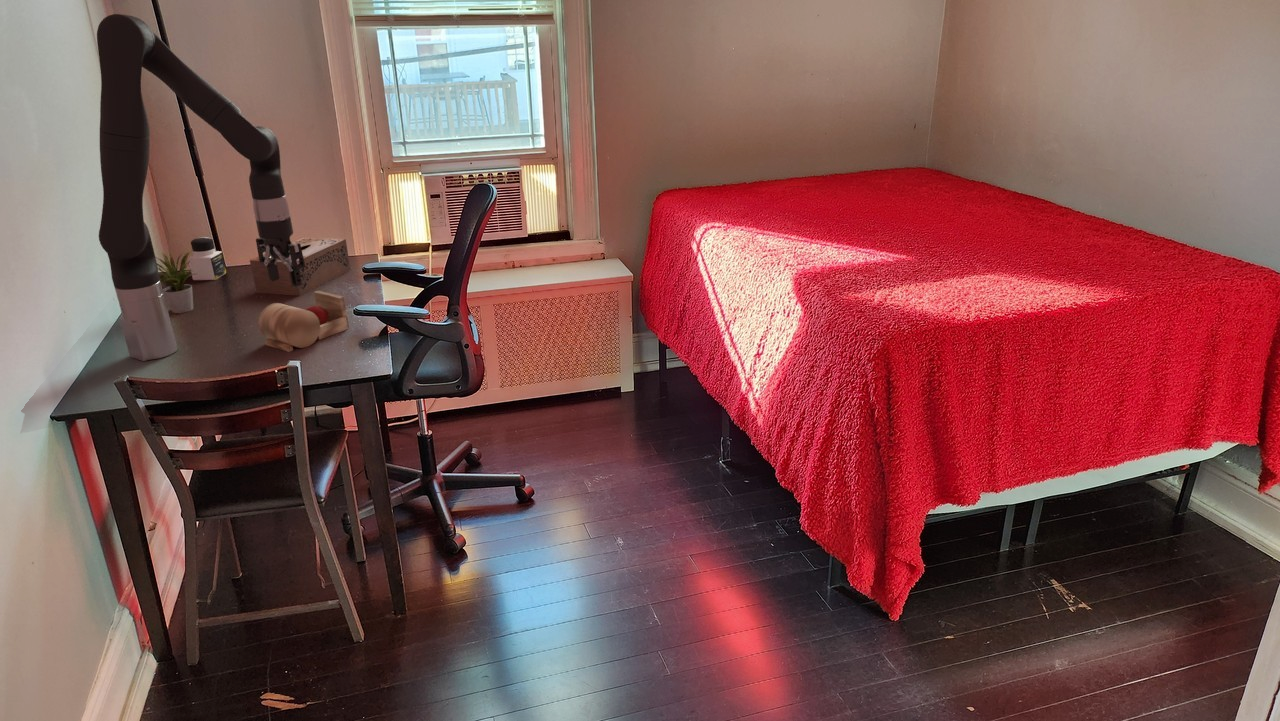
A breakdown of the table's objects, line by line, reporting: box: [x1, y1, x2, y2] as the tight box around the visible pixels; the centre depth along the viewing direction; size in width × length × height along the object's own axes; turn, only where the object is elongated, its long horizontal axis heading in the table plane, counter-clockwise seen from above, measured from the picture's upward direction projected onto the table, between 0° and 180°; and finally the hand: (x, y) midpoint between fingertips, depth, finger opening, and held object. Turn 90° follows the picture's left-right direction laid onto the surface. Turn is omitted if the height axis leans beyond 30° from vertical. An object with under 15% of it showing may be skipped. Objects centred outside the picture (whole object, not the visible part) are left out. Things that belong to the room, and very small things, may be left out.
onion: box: [304, 305, 329, 325], centre depth 209 cm, size 6×6×8 cm
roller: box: [258, 302, 320, 353], centre depth 201 cm, size 11×9×9 cm
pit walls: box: [313, 290, 350, 341], centre depth 210 cm, size 10×12×8 cm
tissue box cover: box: [249, 236, 351, 297], centre depth 248 cm, size 26×14×10 cm, turn 166°
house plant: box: [155, 249, 197, 314], centre depth 226 cm, size 14×14×16 cm
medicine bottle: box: [187, 236, 227, 281], centre depth 254 cm, size 7×7×12 cm
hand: (285, 282), depth 201 cm, fingers open, 8 cm apart
